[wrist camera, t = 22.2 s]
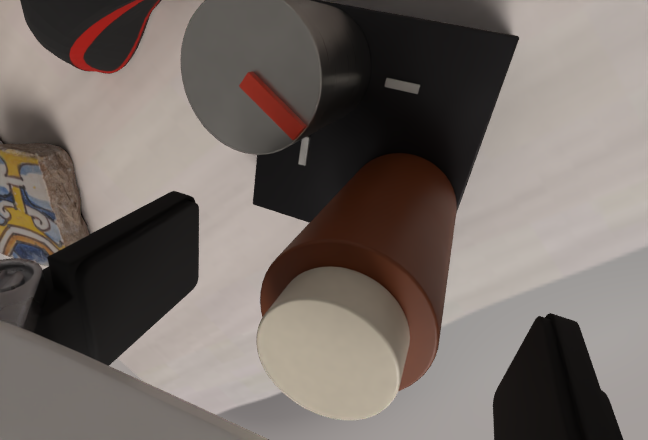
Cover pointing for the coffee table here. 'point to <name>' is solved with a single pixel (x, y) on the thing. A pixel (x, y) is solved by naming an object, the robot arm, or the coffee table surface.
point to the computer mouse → (89, 30)
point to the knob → (272, 70)
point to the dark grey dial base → (396, 111)
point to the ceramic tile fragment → (38, 202)
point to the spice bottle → (361, 291)
